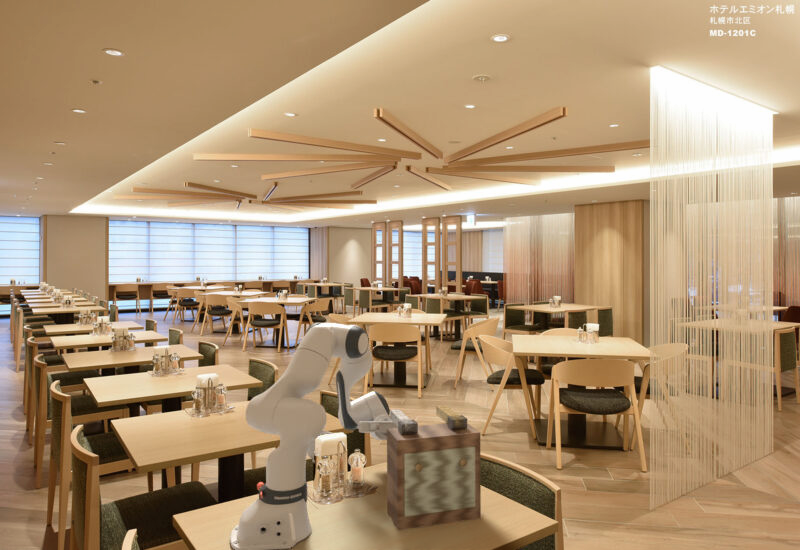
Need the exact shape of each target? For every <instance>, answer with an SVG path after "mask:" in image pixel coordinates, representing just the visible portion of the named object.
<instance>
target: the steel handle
mask: <svg viewBox="0 0 800 550" xmlns="http://www.w3.org/2000/svg"><path fill="white" fill-rule="evenodd" d="M389 415H390V419H391V420H392V421H393V422H394V423H395V424H396V425H397V426H398V431H399V432H400V433H401V434H402V435H404V434H414V433H418V426H419V423H418V422H417V421H416V420H415V419H410V417H409V416H407V415H406V414H405V413H404V412H403V411H402V410H401V409H399V408H397V409H390V414H389Z"/></svg>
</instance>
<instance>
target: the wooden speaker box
mask: <svg viewBox="0 0 800 550" xmlns="http://www.w3.org/2000/svg"><path fill="white" fill-rule="evenodd" d="M386 470H387V471H386V476H387V477H386V480H387V481H386V486H387V487H386V488H387V489H386V492H387V493H386V496H387V497H386V498H387V501H386V503H387V509H386V510H387V514H388V516H389V517H390V519H391V521H392V522H393V525H394V526H395V528H396V530H397V531H403V530H408V529H409V530H411V529H417V528H422V527H429V526H436V525H443V524H450V523H457V522H464V521H469V520H471V521H472V520H477V519H481V518H482V515H481V514H482V513H481V511H482V510H481V508H482V507H481V506H482V504H481V503H482V502H481V498H482V496H481V493H482V491H481V484H482V483H481V479H482V478H481V432H480V431H479V430H477V429H476V428H475V427H473V426H472V425H471V424H469V423H468V422H467V428H466V429H456V430H452V429H450V428H449V427H448V426H447V423H446V422H445V423H434V424H425V425H424V424H423V425H418V433H414V434H404V435H402V434H401V433H400V432H399V431H398V428H389V429H387V440H386Z"/></svg>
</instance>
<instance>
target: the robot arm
mask: <svg viewBox="0 0 800 550" xmlns="http://www.w3.org/2000/svg"><path fill="white" fill-rule="evenodd" d="M369 340H370V339H369V335H368V333H367V331H366V330H365V329H364V328H363V327H361V326H359V325H356V324H344V323H340V322H323V321H320V322H314V323H312V324H311V325H309V326H308V328H307V329H306V332H305V334H304V336H303V338H302V339H301V341H300V342H299V344H298V346H297V347H296V349H295V351H294V354H293V356H292V357H291V359H290V362H289V363H288V365H287V367H286V369H285V370H284V372H283V373H282V375H281V376H280V377H279V378H278V379H277V380H276V382H275V383H273V384H272V385H271V386H270V387H269V388H267V389H266V390H265V391H263V392H262V393H260V394H257V395H255V396H254V397H252V398H251V400H250V401H249V403H247V406H246V409H245V420H246V423H247V425H248V426H249V427H251V429H254V430H256V431H259V432H261V433H264V434H270V435H275V436H279V438H280V441H279V446H278V447H277V448H275V449H273V450H272V451H271V452H270V453H269V454H268V456H267V457H266V460H265V481H266V482H265V483H264V482H263V481H259V482H258V483H257V484H256V489H257V490H258V498H257V499H256V500H255V501H253V502H252V503H251V504H250V505H249V506H247V507H246V508H245V509H244V510H243V511H242V512H241V515H240V517H239V522H238V524H237V525H235V527H233V529H231V530H232V531H230V532H231V533H230V538H229V543H231V544H230V546H231V549H233V550H234V549H235V550H285V549H286V550H287V549H291V547H292V548H293V547H295V546H296V544H297V543H299V542H301V541H303V540H304V539H307V537H309V536H310V535H311V533H312V531H313V528H312V525H311V522H310V519H309V518H310V516H309V513H308V505H307V504H308V503H307V501H308V494H309V493H308V492H309V490H308V483H307V479H306V466H307V455H308V453H307V451H308V448H309V446H310V444H311V443H312V441H313V440H314V439H315V438H317V437H318V436H319V435H320V434H321V433H322V432H323V431H325V428H326V425H327V413H326V409H325V407H324V406H323V405H322V404H320V403H318V402H316V401H314V400H311V399H308V398H304V397H305V396H307V395H308V394H311V393H313V392H315V391H317V389H318V388H320V386H321V384H322V381H323V379H324V377H325V374H326V372H327V369H328V368H329V365H330V362H331V360H332V357H334V358H340V362H341V363H340V366H339V368H338V371H337V372H336V375H335V384H336V385H335V386H336V395H337V397H336V398H337V412H338V413H337V415H338V421H339V424H340V425H341V427H342V428H343V429H344V430H348V431H352V432H353V431H355V430H357V429H358V432H359V433H363V434H365V433H369V434H370V436H371V438H373V439H375V440H379V441H387V429H389V428H398V426H397V425H396V424H395V423H394V422H393V421H392V420H391V419H390V410H391V409H390V406H389V403H388V402H387V399H386V398H385V397H384V395H383V394H381V393H380V392H378V391H375V390H373V391H370V392H368V393H365V394H364V395H362V396H360V397H358V398H355V399H353V400H352V401H351V395H350V393H351V390H352V388H353V387H354V386H355V384H356V383H357V382H359V381H360V380H361V379H362V378H364V377H365V376H366V375H367V374H368V373H369V372H370V370H371V368H372V366H373V363H374V361H373V353H372V349H371V345H370V343H369V342H370V341H369Z"/></svg>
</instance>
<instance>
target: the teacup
mask: <svg viewBox="0 0 800 550" xmlns="http://www.w3.org/2000/svg"><path fill="white" fill-rule="evenodd" d="M332 433H333V432H331V431H327V430H323V432H322V433H321V434H320V435H324V434H332ZM320 435H319V436H320ZM314 451H315V439H314V440H313V441H312V443H311V444H310V446H309V448H308V451H307V455H308V457H309V458H310V459H311V462H312V463H314V464H316V463H315V460H314Z"/></svg>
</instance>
